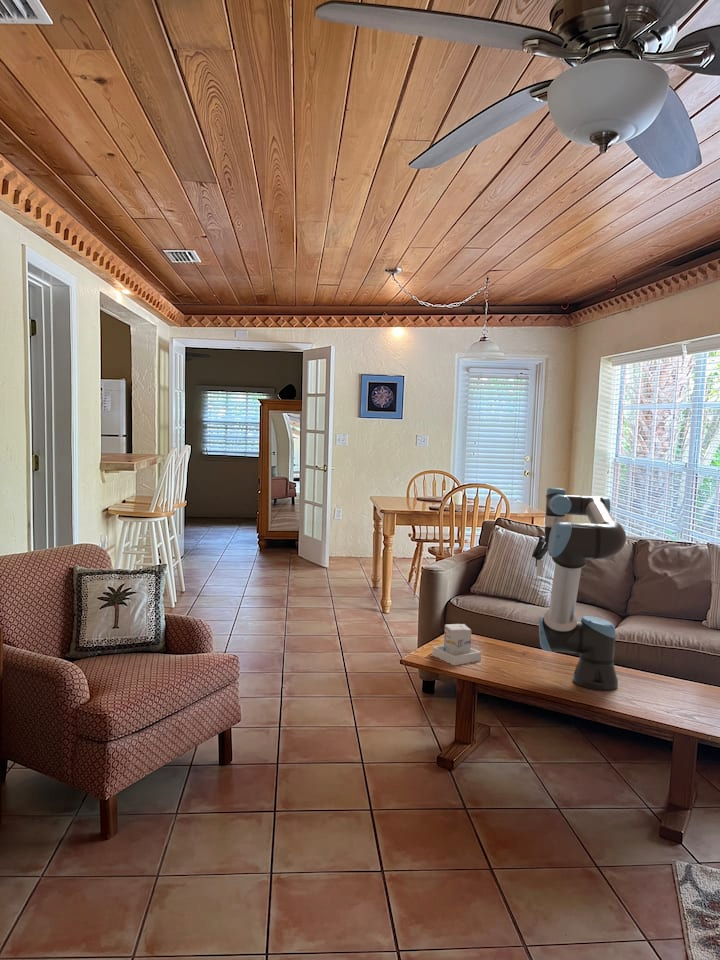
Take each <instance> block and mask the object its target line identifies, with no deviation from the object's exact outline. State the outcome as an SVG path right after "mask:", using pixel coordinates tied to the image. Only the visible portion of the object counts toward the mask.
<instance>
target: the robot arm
mask: <svg viewBox="0 0 720 960" xmlns="http://www.w3.org/2000/svg"><path fill="white" fill-rule="evenodd" d="M545 498H546V499H545V518H544V519H545V521H544V524H545V526H544V535H540V536H539V537H538V542H537V544H536V546H535V548H534V550H533V553H532V555H531V557H532V558H535V568H536V572H535V575H536V576H537V577H539V576H540V577H542V576H543V571H544V570H543V569H544V566H543V565H544V559H543V557H544V556H545V555H546V554H547V553H548V556H550V557H551V559H552V561H553V562H554V573H553V579H552V587H551V593H550V594H551V595H550V602H549V609H548V610H546V611H545V613H544V615H543V616H542V617H538V633H539V643H540V645H539V646H540V648H541V649H542V650H543V651H548V652H555V653H556V652H557V653H558V652H559V653H572V654H579V657H578V658H579V659H578V662H577V665H576V667H575V670H574V671H573V677H572V681H573V682H574V683H575V684H576V685H579V687H580V686H581V687H582V688H586V689H591V690H595V691H612V690H613V691H614V690H615V689H617V688H618V685H619V679H618V677H617V672H616V668H615V664H614V662H615V661H614V660H615V647H616V645H615V644H616V638H617V636H616V626H615V624H613V622H611V621H609V620H607V619H604V618H600V617H597V616H592V615H590V616H589V615H583V616H582V617H581V618H580V620H578V619H577V617H576V616H575V610H576V605H577V599H578V594H579V593H578V592H579V587H580V580H581V574H582V569H583V568H585V567H586V566H587V565H588V561H589V560H606V559H610V558H612V557H614V556H616V555H617V554H619V553H620V552H621V551H622V550H623V549H624V548H625V547H624V546H625V544H626V542H627V534H626V531H625V529H624V527H623V526H622V525H621V524H620V523H619V522H618V521H616V520H614V518H613V516H612V514H611V499H610V498H609V497H608V496H601V495H598V496H597V495H595V496H594V495H574V494H572V495H571V494H570V495H569V494H567V490H566V489H565V488H562V487H561V488H560V487H549V488H547V490H546V495H545ZM566 515H571V516H587V519H588V520H589V523H585V522H570V521H566V520H565V517H566Z"/></svg>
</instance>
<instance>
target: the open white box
mask: <svg viewBox="0 0 720 960" xmlns="http://www.w3.org/2000/svg"><path fill="white" fill-rule="evenodd" d="M432 656H433V657H434V658H437V657H438V658H437V659H439V658H440V659H439V660H441V661H443V660H444V662H445V661H446V662H445V663H448V664H449V663H450V665H452V666H453V665H455V666H459V664H461V665H465V663H466V664H471V663H470V662H472V663H476V662H475V661H477V662H481V660H482V652H481V651H479V650H477V649H475V648H472V647H471V652H470V653H469V654H463V655H457V656H454V655H452V654H449V653H447V652H445V651H444V644H443V645H442V644H441V645H436V646H432Z"/></svg>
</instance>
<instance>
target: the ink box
mask: <svg viewBox="0 0 720 960" xmlns="http://www.w3.org/2000/svg"><path fill="white" fill-rule="evenodd" d="M443 639H444V640H443V645H444V651H445V652H447V653H449V654H452V655H454V656H457V655H463V654H469V653H470V652H471V648H472V629H471V628H470V627H468V626H467V625H466V623H451V624H450V623H449V624H444V638H443Z"/></svg>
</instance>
